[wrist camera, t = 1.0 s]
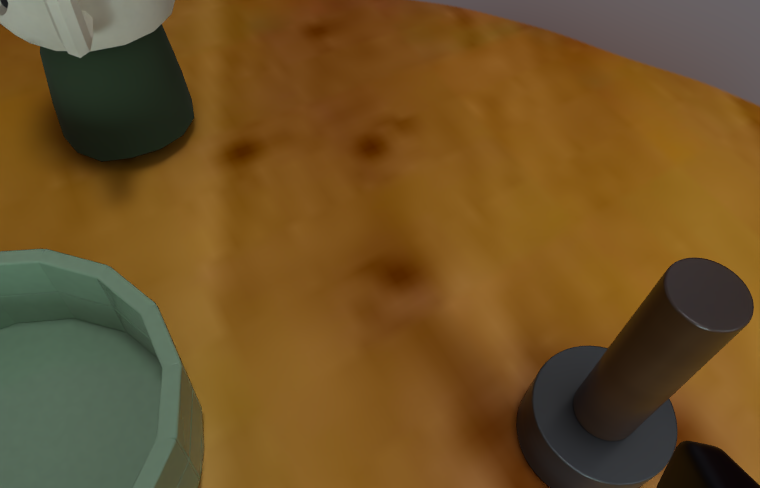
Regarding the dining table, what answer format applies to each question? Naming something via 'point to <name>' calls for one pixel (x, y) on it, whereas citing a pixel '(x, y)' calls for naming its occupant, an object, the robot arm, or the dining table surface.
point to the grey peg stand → (630, 383)
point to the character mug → (107, 72)
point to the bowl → (90, 381)
